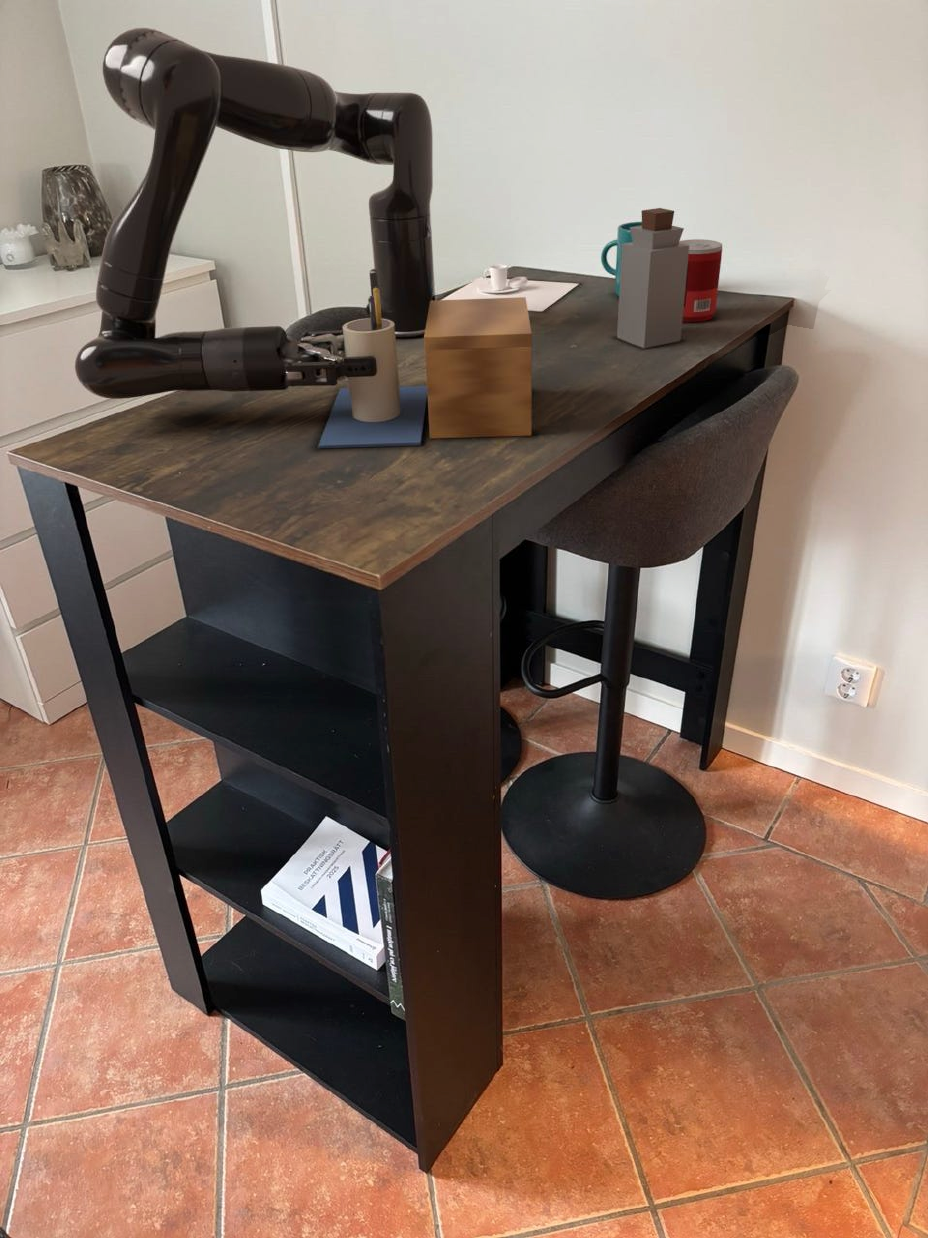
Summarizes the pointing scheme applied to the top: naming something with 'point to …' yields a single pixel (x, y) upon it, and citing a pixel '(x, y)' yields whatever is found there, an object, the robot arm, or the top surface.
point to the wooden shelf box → (479, 368)
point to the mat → (377, 423)
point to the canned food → (701, 279)
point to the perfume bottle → (653, 281)
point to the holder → (381, 391)
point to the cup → (618, 251)
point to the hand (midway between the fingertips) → (379, 354)
